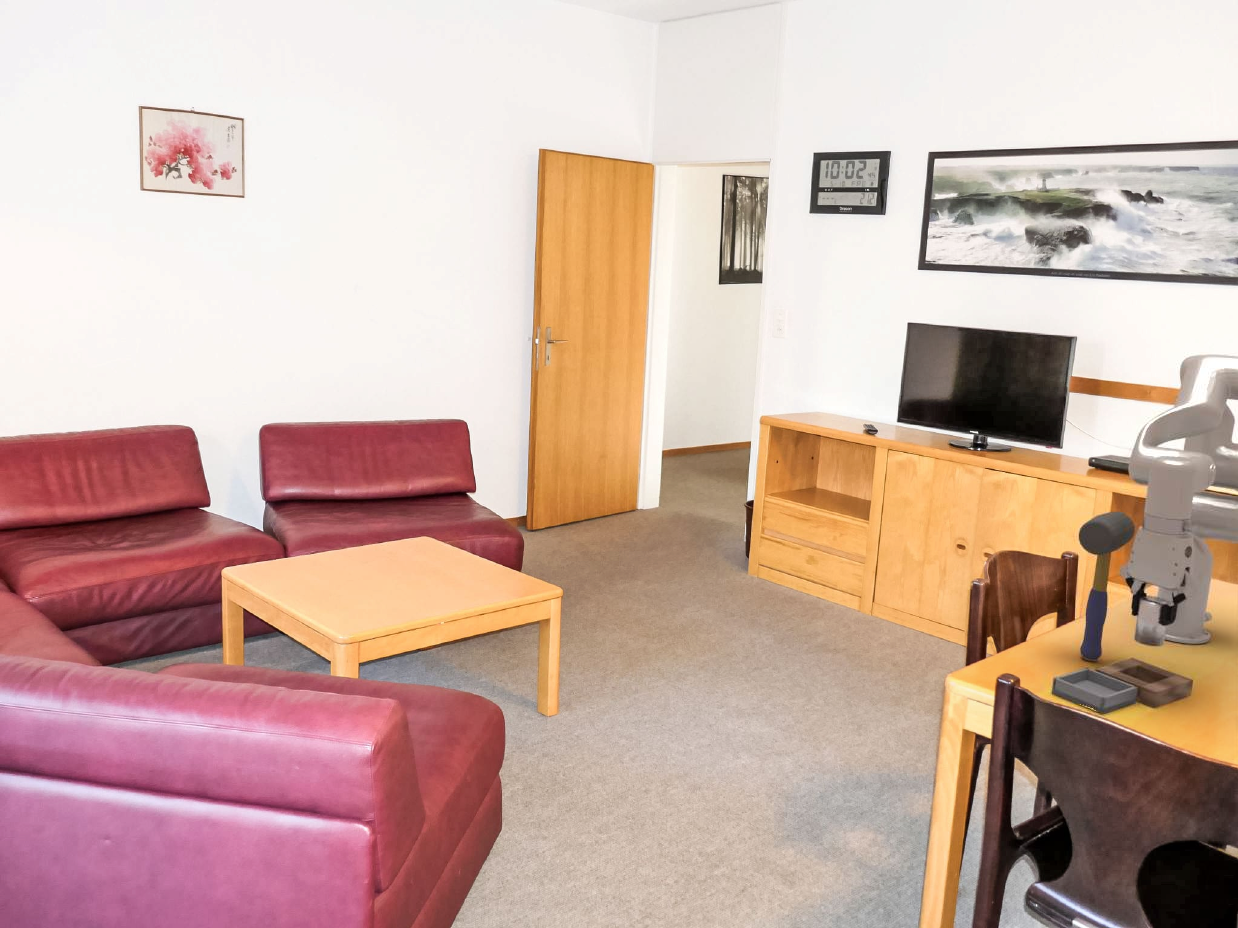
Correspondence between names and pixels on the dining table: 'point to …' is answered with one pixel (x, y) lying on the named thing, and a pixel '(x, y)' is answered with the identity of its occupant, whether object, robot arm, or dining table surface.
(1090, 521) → the rubber mallet
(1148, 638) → the steel peg
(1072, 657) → the dining table surface
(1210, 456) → the robot arm
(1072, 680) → the tray
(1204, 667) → the dining table surface
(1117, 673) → the holder block
